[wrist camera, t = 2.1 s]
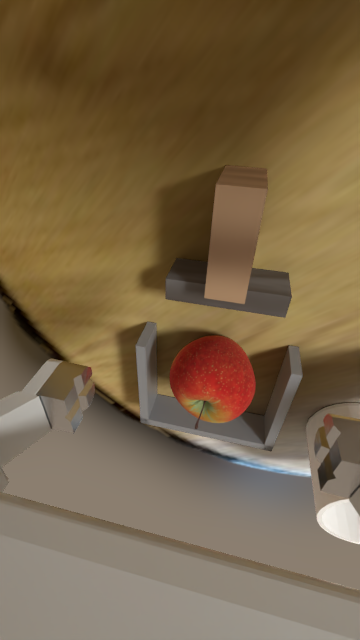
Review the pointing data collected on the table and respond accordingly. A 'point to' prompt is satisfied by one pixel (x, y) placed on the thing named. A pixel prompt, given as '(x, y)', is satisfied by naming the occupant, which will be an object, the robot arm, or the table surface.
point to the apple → (213, 379)
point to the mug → (330, 508)
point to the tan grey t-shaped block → (233, 253)
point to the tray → (238, 430)
